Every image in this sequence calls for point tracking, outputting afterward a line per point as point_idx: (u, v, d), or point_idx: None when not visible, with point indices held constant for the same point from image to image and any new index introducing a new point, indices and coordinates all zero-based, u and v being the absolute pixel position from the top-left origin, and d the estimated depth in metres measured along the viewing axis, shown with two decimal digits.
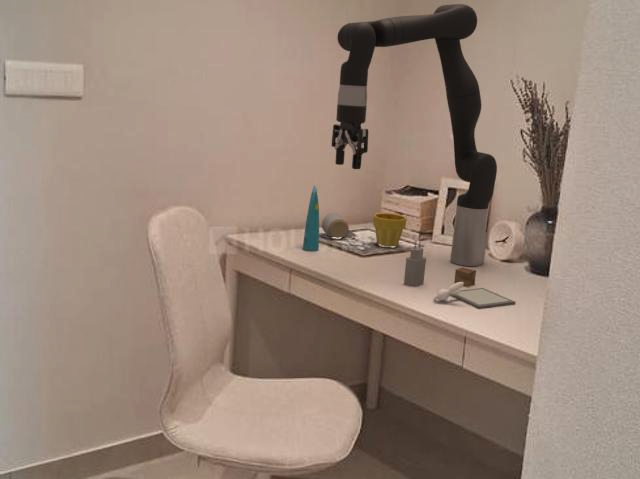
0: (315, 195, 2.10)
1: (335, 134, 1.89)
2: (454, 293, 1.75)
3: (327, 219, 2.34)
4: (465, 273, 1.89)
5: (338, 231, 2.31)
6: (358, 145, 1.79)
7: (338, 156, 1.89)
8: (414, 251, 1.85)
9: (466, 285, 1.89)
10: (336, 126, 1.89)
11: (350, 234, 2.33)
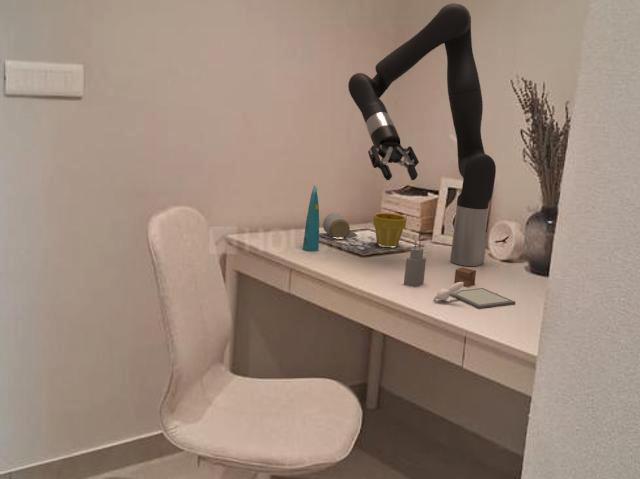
0: (315, 195, 2.10)
1: None
2: (454, 293, 1.75)
3: (328, 219, 2.34)
4: (465, 273, 1.89)
5: (339, 231, 2.31)
6: None
7: (409, 173, 2.00)
8: (414, 251, 1.85)
9: (466, 285, 1.89)
10: None
11: (351, 234, 2.34)
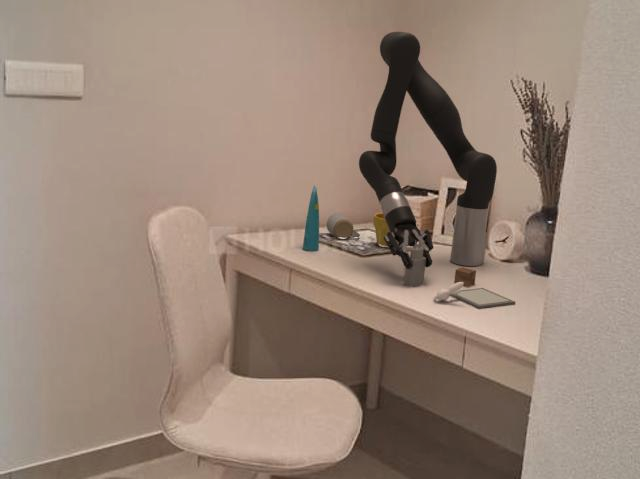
0: (315, 195, 2.10)
1: None
2: (454, 293, 1.75)
3: (332, 219, 2.34)
4: (465, 273, 1.89)
5: (343, 231, 2.31)
6: None
7: None
8: (414, 251, 1.85)
9: (466, 285, 1.89)
10: None
11: (355, 234, 2.34)
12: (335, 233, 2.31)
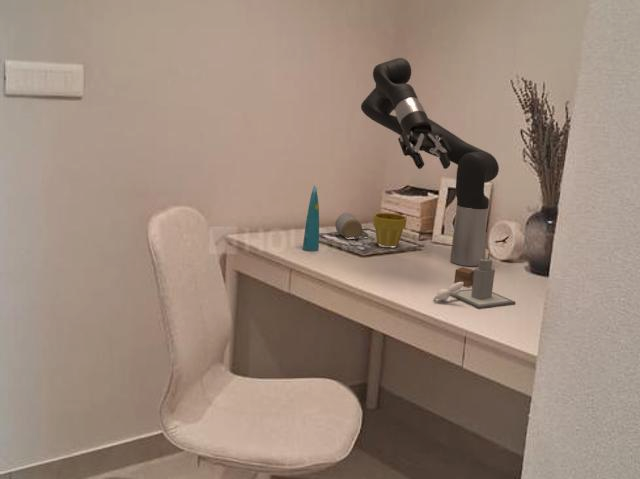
0: (315, 195, 2.10)
1: None
2: (454, 293, 1.75)
3: (341, 219, 2.35)
4: (465, 273, 1.89)
5: (351, 231, 2.32)
6: None
7: (441, 161, 1.90)
8: (483, 262, 1.76)
9: (466, 285, 1.89)
10: None
11: (363, 234, 2.35)
12: (344, 233, 2.32)
